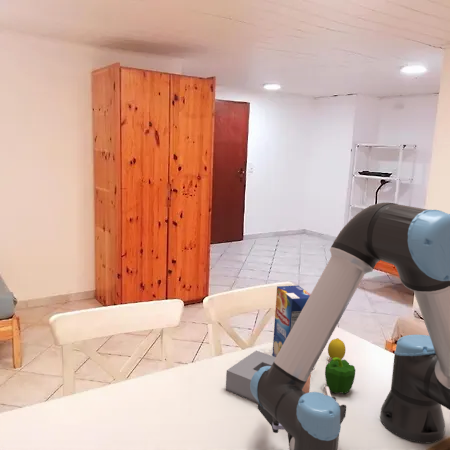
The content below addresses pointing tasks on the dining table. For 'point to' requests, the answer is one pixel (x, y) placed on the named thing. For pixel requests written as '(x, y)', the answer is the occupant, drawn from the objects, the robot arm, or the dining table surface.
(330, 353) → the lemon
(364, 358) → the dining table surface
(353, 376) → the bell pepper
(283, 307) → the juice carton
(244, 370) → the hole block
